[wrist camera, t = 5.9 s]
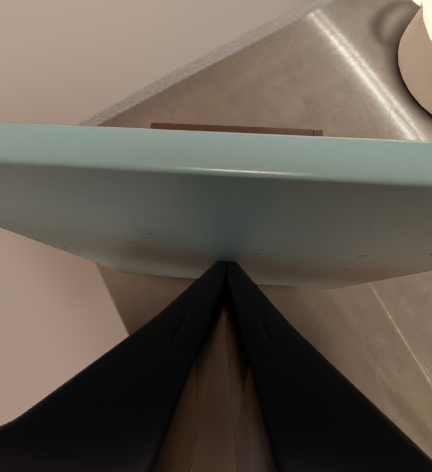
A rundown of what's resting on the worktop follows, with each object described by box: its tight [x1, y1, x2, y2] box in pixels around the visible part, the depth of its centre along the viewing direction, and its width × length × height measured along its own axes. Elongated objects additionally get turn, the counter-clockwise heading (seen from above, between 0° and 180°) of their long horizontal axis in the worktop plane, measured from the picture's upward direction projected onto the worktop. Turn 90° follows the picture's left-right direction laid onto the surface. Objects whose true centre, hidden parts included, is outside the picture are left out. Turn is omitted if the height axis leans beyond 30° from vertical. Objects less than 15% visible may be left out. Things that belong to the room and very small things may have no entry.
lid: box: [0, 122, 432, 289], centre depth 10 cm, size 13×15×1 cm
